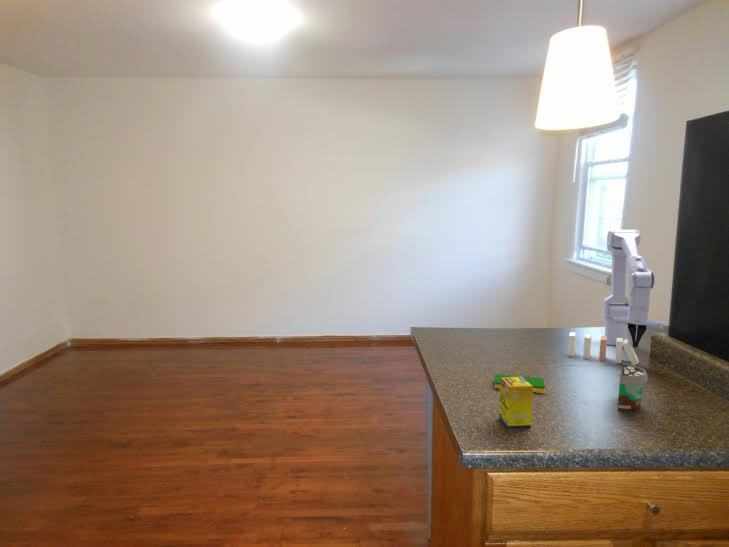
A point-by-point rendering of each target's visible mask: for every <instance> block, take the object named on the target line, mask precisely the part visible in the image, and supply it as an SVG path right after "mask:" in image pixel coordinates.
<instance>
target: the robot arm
mask: <svg viewBox="0 0 729 547" xmlns="http://www.w3.org/2000/svg"><path fill="white" fill-rule="evenodd" d="M641 238H642V237H641V232H640V230H639V229H638V228H635V229H614V228H611V229H609V231H608V232H607V236H606V248H607V249H606V251H607V252H609V253H611V284H610V285H611V287H610V288H611V289H610V295H608V296H607V297H605V298H604V299H603V300H602V305H601V308H600V309H601V310H600V312H601V318H603V319H604V320H605V327H604V336H607V345H608V346H615V347H616V340H617V338H623V341H624V340H627V331H628V332H629V333H630V334H629V335H630V336H631V337H630V338H631V340H632V348H638V347H639V343H640V341H641V339H642V337H643V335H644V334H645V333H646V332H647V328H656V329H661V330H663V329H664V322H663V321H657V320H652V319H649V312H650V311H649V307H650V298H651V290H652V289H653V288H654V286H655V274H654V271H652V270H651V269H648V266H647V264H646V261H645V258H644V257H643V256H641V255H640V253H639V248H638V246H639V244H641V243H640V242H641ZM627 273H628V278H627V284H628V293H629V298H628V297H627V296H626V285H627V284H626V277H627V275H626V274H627ZM627 329H628V330H627Z"/></svg>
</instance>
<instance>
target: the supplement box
mask: <svg viewBox="0 0 729 547" xmlns="http://www.w3.org/2000/svg"><path fill="white" fill-rule="evenodd" d="M523 377H524V376H523ZM523 377H504V378H501V381H500V389H499V390H500V391H499V409H498V410H499V411H498V412H499V414H498V418H499V419H500V420H501V422H502V423H503V424H504V425H505V427H506V429H508V430H513V429H514V430H517V429H531V428H532V418H533V417H532V415H533V413H532V411H533V397H534V392H533V386H532V385H531V384H530V383H528V382H527V381H526V380H525V379H524V378H523Z"/></svg>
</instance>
